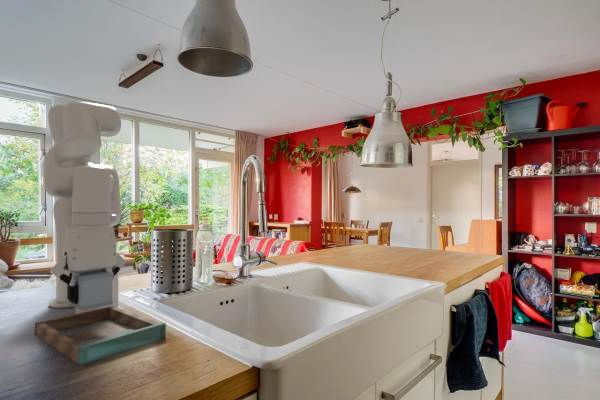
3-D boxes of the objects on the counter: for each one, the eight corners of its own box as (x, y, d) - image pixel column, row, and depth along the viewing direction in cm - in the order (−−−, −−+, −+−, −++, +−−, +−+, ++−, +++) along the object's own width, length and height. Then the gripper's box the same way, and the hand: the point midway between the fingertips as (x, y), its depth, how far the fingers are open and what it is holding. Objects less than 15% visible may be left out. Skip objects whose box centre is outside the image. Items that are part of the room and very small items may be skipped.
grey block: (67, 303, 78) (68, 272, 78) (97, 297, 83) (97, 268, 83) (82, 310, 73) (83, 277, 73) (112, 304, 78) (113, 273, 78)
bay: (34, 334, 76) (34, 320, 76) (112, 315, 89) (112, 303, 89) (80, 365, 60) (80, 348, 60) (165, 337, 73) (165, 323, 74)
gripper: (122, 218, 87) (121, 289, 87) (40, 221, 73) (39, 304, 73) (137, 219, 83) (135, 294, 83) (52, 223, 69) (51, 312, 69)
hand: (90, 298), depth 78 cm, fingers closed on grey block, 6 cm apart
